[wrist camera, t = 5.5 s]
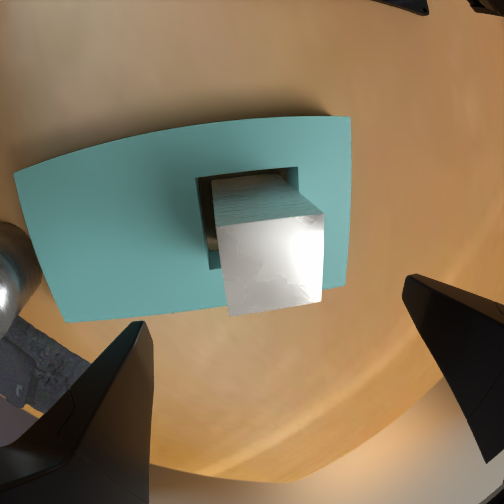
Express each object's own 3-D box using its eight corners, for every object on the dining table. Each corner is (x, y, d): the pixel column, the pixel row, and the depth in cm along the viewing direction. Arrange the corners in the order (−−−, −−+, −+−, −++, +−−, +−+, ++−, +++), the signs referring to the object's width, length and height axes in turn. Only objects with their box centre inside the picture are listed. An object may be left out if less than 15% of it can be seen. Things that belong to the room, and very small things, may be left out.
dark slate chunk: (97, 431, 28) (92, 459, 24) (-38, 346, 20) (-53, 370, 16) (141, 381, 25) (136, 420, 20) (-38, 261, 16) (-65, 287, 12)
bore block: (332, 115, 16) (350, 116, 14) (331, 267, 21) (345, 285, 19) (33, 165, 14) (13, 173, 12) (76, 303, 19) (65, 322, 17)
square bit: (275, 173, 18) (324, 213, 10) (278, 231, 19) (321, 301, 12) (211, 180, 17) (215, 227, 10) (219, 239, 19) (229, 316, 12)
